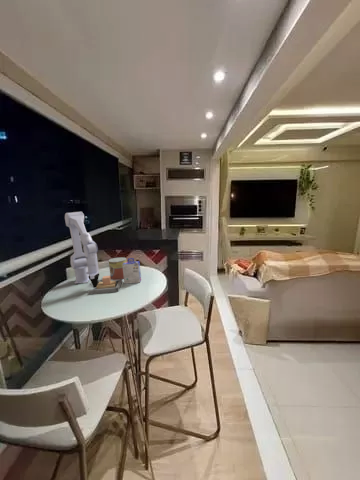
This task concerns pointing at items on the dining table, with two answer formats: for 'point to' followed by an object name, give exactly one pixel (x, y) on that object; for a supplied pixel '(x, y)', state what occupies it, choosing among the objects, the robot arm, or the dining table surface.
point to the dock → (107, 288)
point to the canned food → (116, 268)
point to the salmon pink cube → (106, 280)
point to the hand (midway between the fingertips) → (95, 287)
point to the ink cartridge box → (131, 271)
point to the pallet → (101, 286)
